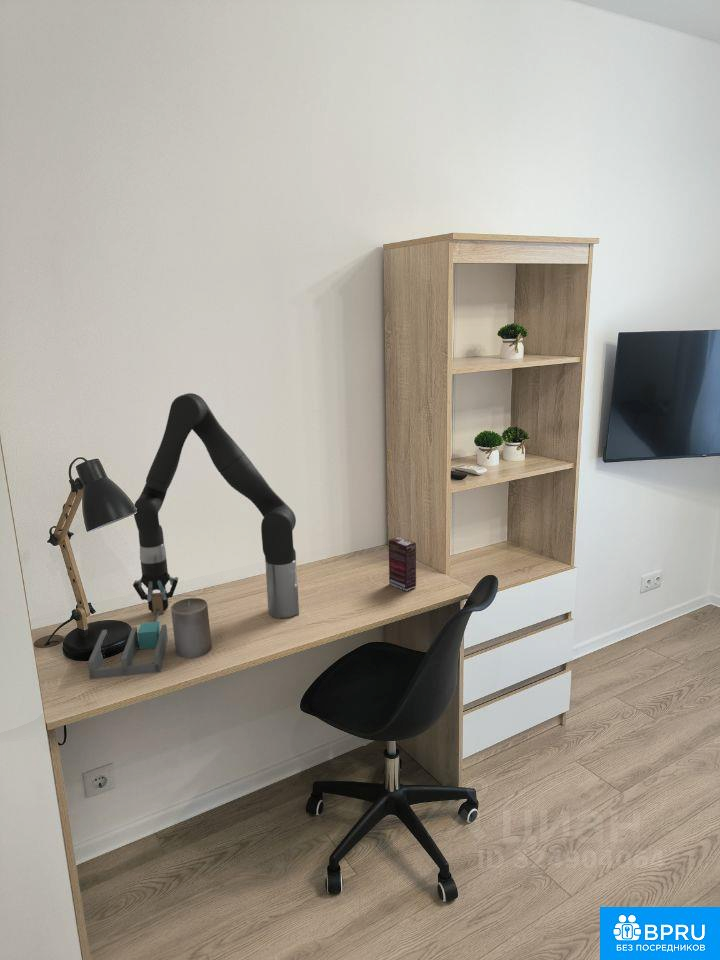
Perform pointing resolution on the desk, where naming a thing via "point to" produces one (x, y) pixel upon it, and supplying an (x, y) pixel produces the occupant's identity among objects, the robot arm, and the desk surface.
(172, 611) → the pillar candle
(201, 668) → the desk surface
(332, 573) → the desk surface
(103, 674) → the lane rack
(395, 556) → the supplement box
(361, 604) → the desk surface
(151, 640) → the block ended dumbbell
